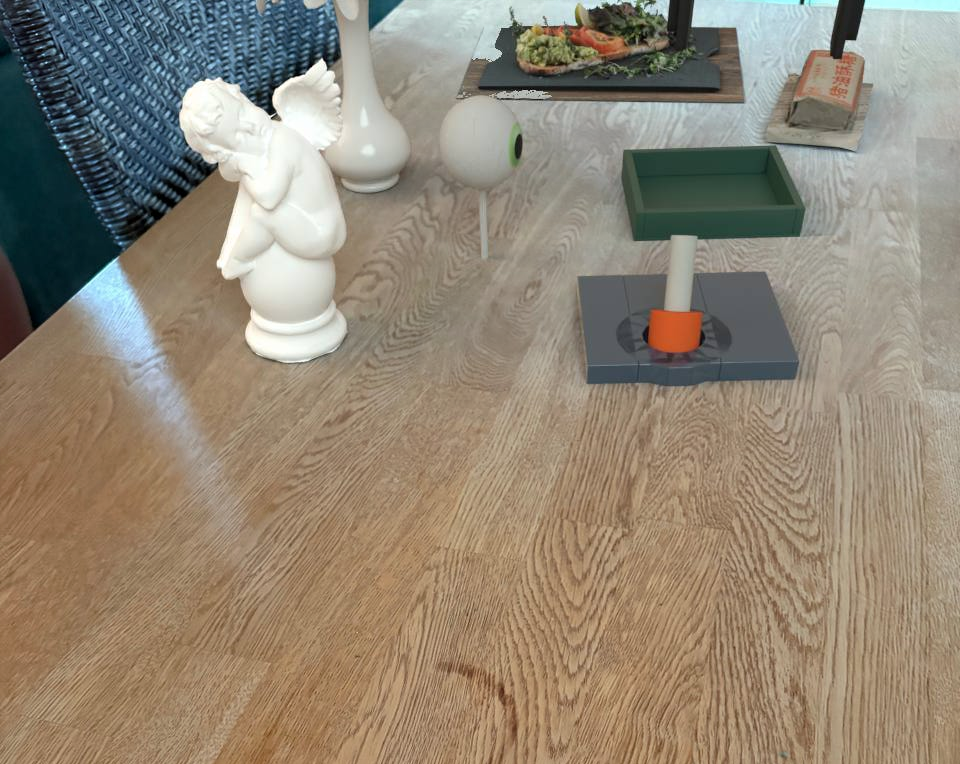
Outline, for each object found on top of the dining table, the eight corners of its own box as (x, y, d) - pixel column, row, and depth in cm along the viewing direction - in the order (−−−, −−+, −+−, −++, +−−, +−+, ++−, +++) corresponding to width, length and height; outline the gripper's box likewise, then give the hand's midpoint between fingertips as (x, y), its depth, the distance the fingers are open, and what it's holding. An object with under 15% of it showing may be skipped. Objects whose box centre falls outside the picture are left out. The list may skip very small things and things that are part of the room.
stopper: (691, 356, 83) (704, 237, 79) (702, 361, 79) (716, 236, 76) (642, 354, 83) (653, 235, 79) (651, 359, 79) (662, 234, 76)
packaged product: (793, 42, 120) (881, 49, 117) (785, 86, 123) (871, 94, 121) (771, 97, 108) (868, 106, 106) (763, 144, 112) (857, 154, 109)
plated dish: (455, 100, 123) (452, 32, 118) (481, 29, 143) (480, -32, 137) (748, 106, 120) (759, 37, 115) (734, 32, 139) (743, -30, 134)
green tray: (770, 174, 106) (776, 144, 104) (799, 239, 97) (805, 208, 94) (621, 178, 107) (623, 149, 105) (634, 243, 97) (636, 212, 95)
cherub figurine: (217, 355, 86) (147, 70, 70) (275, 284, 94) (224, 14, 78) (352, 373, 83) (312, 81, 67) (400, 298, 91) (374, 22, 75)
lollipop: (508, 295, 91) (505, 118, 80) (435, 284, 93) (422, 109, 82) (533, 258, 95) (533, 86, 84) (462, 249, 97) (454, 79, 86)
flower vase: (287, 159, 113) (242, -117, 95) (453, 156, 112) (439, -123, 94) (267, 211, 104) (212, -81, 86) (446, 208, 103) (430, -88, 85)
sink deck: (759, 303, 89) (765, 271, 87) (793, 398, 79) (801, 364, 77) (575, 307, 89) (577, 275, 87) (586, 403, 79) (588, 369, 77)
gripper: (986, -327, 54) (896, 36, 66) (656, -322, 57) (631, 23, 69) (1000, -313, 49) (901, 76, 61) (639, -309, 52) (614, 61, 64)
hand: (757, 48), depth 65 cm, fingers open, 9 cm apart
